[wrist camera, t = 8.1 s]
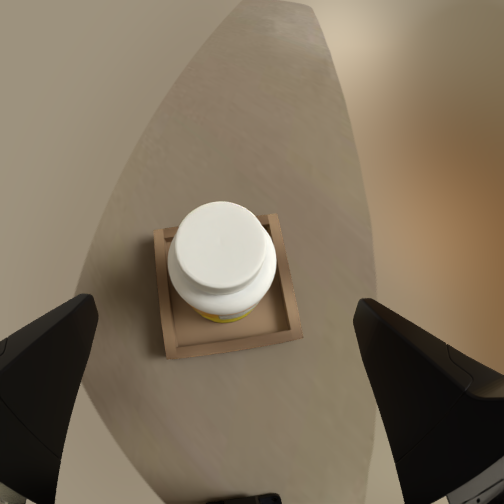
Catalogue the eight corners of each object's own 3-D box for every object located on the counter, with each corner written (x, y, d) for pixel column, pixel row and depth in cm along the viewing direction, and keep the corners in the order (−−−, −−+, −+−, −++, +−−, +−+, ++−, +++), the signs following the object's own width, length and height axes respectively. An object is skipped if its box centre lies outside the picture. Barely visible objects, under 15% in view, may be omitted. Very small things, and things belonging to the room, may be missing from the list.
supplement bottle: (179, 265, 22) (144, 204, 12) (246, 245, 23) (259, 172, 13) (200, 334, 20) (175, 325, 10) (270, 311, 21) (305, 282, 11)
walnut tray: (297, 338, 22) (303, 338, 20) (172, 358, 20) (166, 359, 18) (273, 223, 25) (277, 213, 23) (159, 239, 23) (153, 230, 21)
